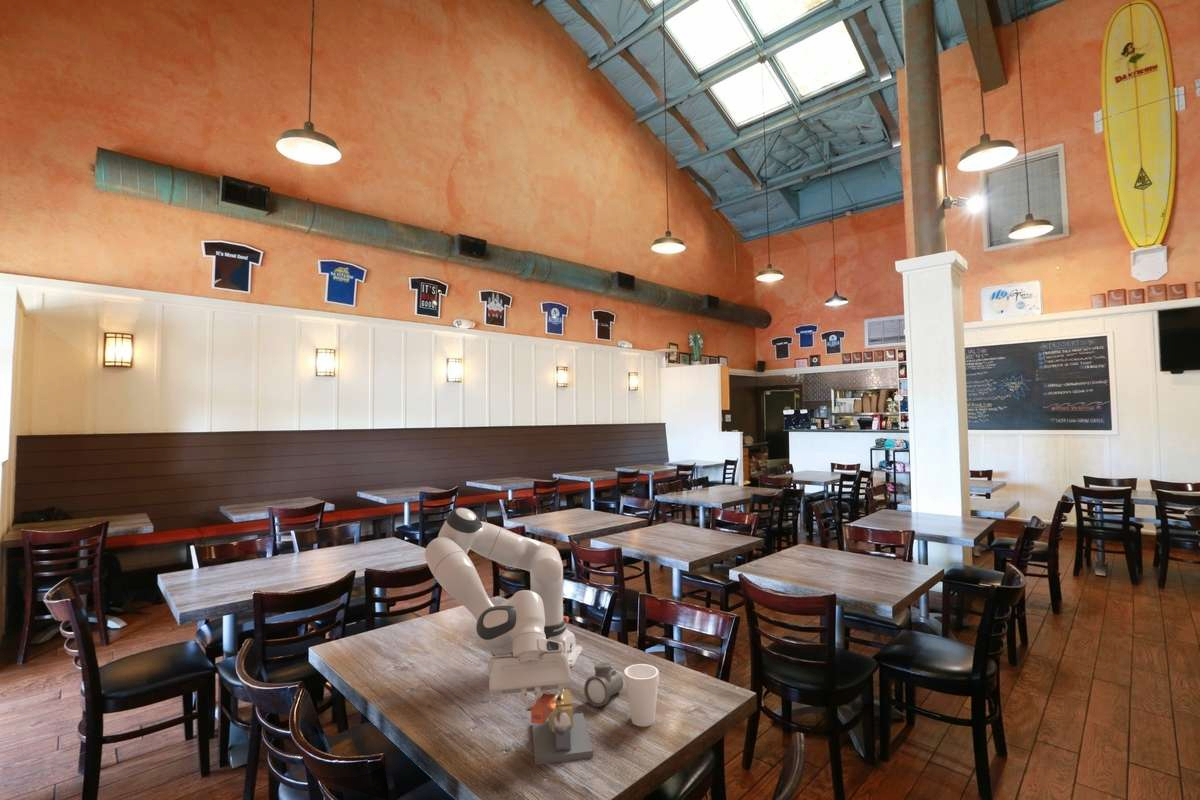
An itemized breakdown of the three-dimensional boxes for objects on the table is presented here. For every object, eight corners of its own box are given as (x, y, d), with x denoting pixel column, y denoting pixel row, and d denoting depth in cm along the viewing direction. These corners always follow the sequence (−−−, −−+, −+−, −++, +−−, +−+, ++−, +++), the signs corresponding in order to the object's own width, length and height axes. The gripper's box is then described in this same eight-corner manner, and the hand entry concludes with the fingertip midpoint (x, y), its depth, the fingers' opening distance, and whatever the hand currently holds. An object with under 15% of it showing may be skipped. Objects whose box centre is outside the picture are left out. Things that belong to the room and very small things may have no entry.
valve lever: (556, 689, 141) (555, 677, 142) (566, 690, 141) (566, 678, 141) (531, 722, 126) (530, 709, 126) (543, 724, 125) (542, 710, 125)
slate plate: (583, 718, 149) (583, 712, 149) (592, 757, 131) (592, 750, 131) (532, 724, 147) (532, 718, 147) (535, 764, 129) (534, 758, 129)
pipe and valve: (568, 716, 147) (567, 674, 148) (575, 750, 132) (574, 703, 132) (547, 719, 146) (546, 677, 147) (551, 753, 131) (550, 706, 131)
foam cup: (632, 732, 141) (630, 681, 142) (621, 714, 150) (619, 667, 151) (665, 725, 144) (664, 676, 145) (652, 708, 153) (651, 662, 154)
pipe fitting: (606, 710, 152) (605, 671, 154) (583, 705, 157) (582, 667, 159) (628, 697, 162) (627, 660, 164) (606, 692, 166) (605, 657, 168)
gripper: (488, 649, 136) (486, 709, 126) (568, 642, 139) (573, 700, 129) (489, 660, 140) (487, 719, 130) (567, 653, 143) (572, 710, 133)
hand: (531, 709), depth 129 cm, fingers closed
